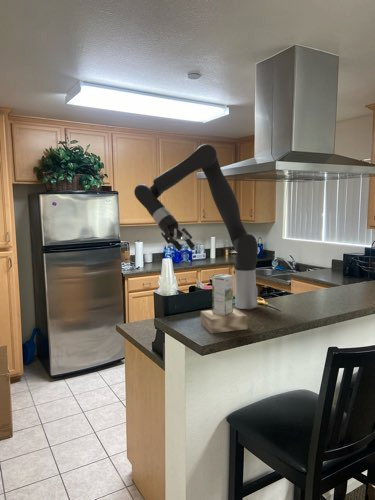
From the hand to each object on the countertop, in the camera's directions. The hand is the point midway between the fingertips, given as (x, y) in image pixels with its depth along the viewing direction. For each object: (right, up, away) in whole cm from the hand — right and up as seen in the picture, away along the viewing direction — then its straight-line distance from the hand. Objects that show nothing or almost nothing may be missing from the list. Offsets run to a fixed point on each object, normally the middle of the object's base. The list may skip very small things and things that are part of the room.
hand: (187, 248), depth 148 cm
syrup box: (+14, -25, -12) cm, 30 cm away
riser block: (+14, -29, -11) cm, 34 cm away
